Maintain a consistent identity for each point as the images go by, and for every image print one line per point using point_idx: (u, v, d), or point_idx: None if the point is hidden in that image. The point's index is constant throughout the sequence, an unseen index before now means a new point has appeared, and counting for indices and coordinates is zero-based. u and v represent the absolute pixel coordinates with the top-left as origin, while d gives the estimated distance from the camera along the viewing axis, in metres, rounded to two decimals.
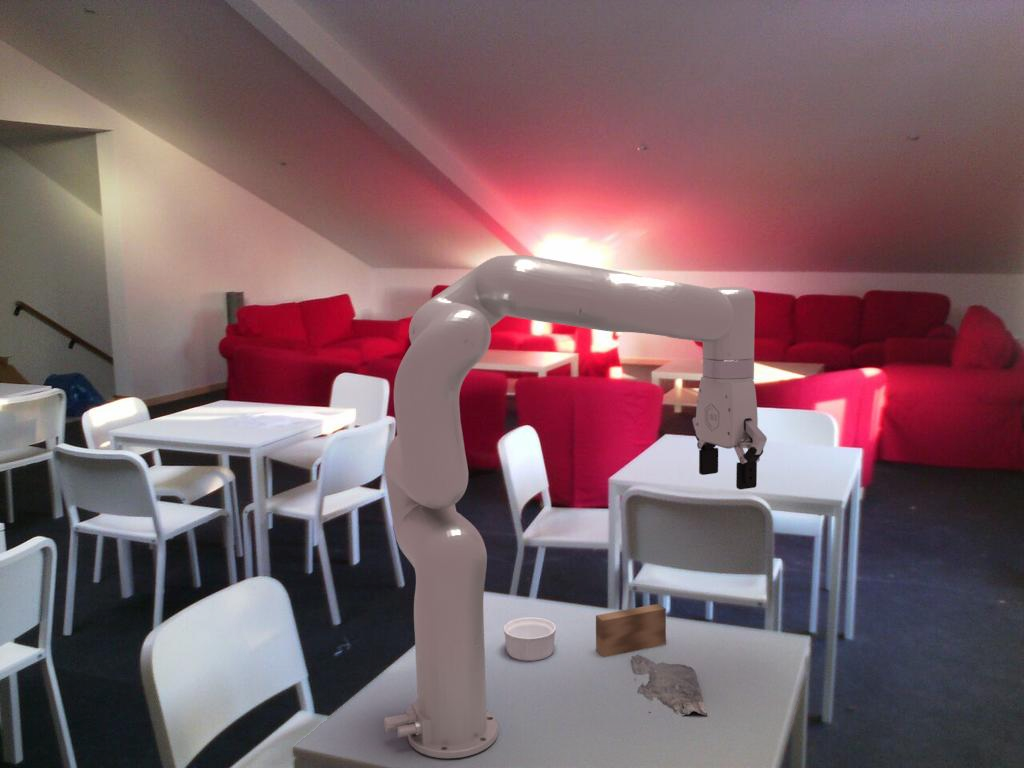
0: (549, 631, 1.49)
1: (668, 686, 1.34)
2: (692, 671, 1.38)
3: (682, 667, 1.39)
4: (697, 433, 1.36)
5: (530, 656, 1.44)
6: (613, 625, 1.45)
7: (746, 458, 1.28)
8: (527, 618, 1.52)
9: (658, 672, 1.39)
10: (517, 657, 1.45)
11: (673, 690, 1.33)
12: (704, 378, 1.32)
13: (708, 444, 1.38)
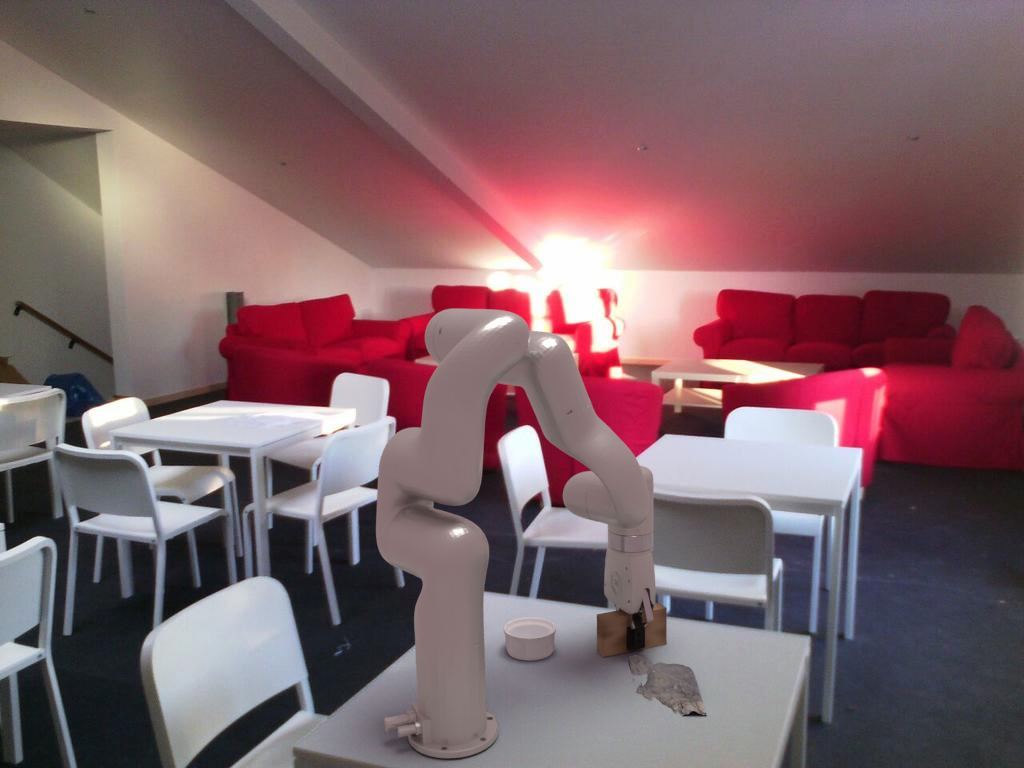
0: (549, 631, 1.49)
1: (666, 686, 1.34)
2: (690, 670, 1.38)
3: (680, 667, 1.40)
4: (605, 593, 1.50)
5: (530, 656, 1.44)
6: (614, 624, 1.45)
7: (634, 625, 1.45)
8: (527, 618, 1.52)
9: (656, 672, 1.39)
10: (517, 657, 1.45)
11: (672, 690, 1.33)
12: (608, 548, 1.45)
13: None
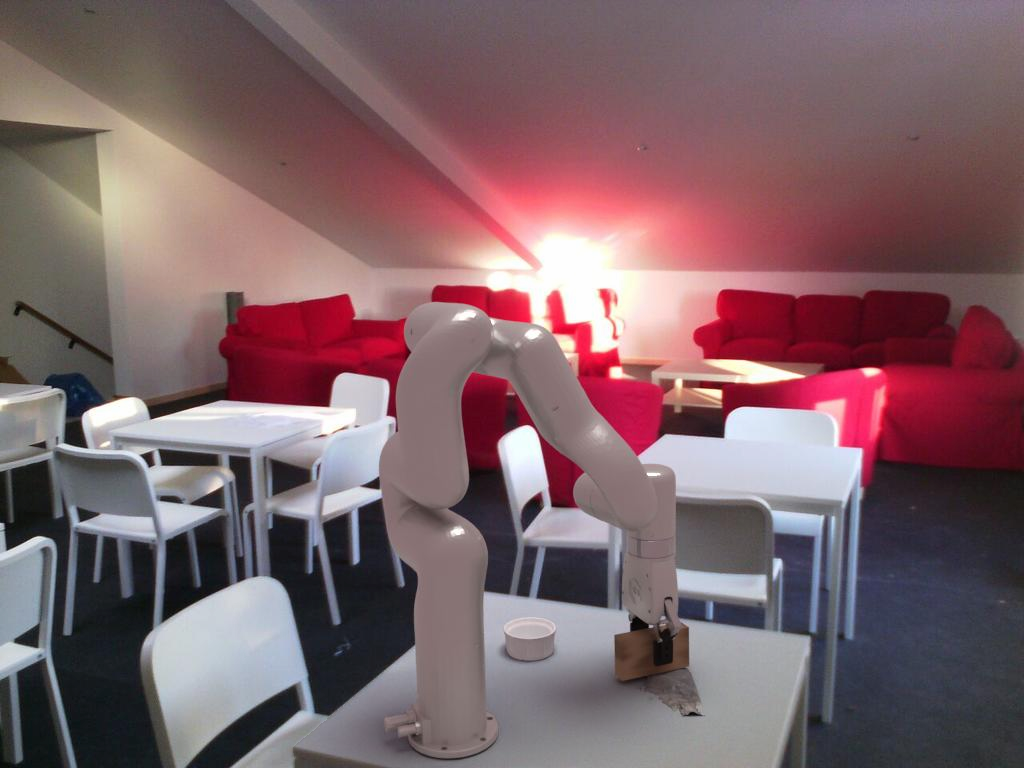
0: (549, 631, 1.49)
1: (664, 687, 1.34)
2: (687, 671, 1.38)
3: None
4: (623, 601, 1.40)
5: (531, 656, 1.44)
6: (633, 645, 1.36)
7: (661, 638, 1.33)
8: (526, 618, 1.52)
9: None
10: (517, 657, 1.45)
11: (670, 691, 1.33)
12: (627, 553, 1.35)
13: (639, 617, 1.41)
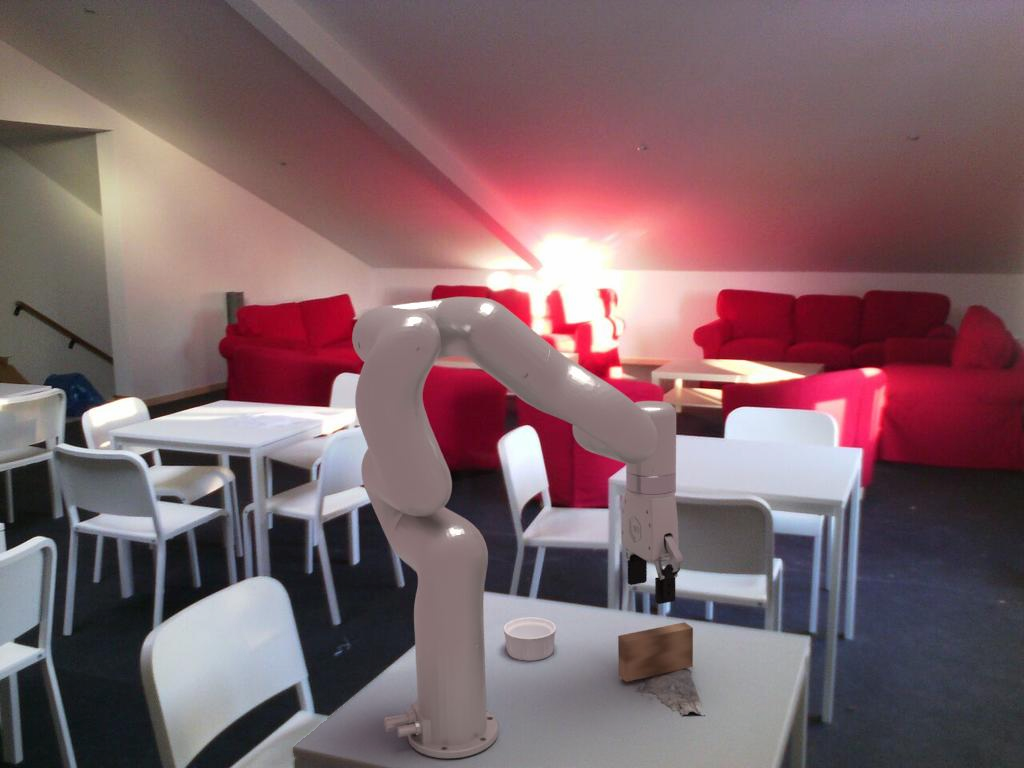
0: (549, 631, 1.49)
1: (663, 686, 1.34)
2: (686, 671, 1.38)
3: None
4: (622, 541, 1.38)
5: (531, 656, 1.44)
6: (637, 646, 1.35)
7: (664, 574, 1.31)
8: (526, 618, 1.52)
9: None
10: (518, 657, 1.45)
11: (669, 690, 1.33)
12: (627, 491, 1.34)
13: (636, 554, 1.40)
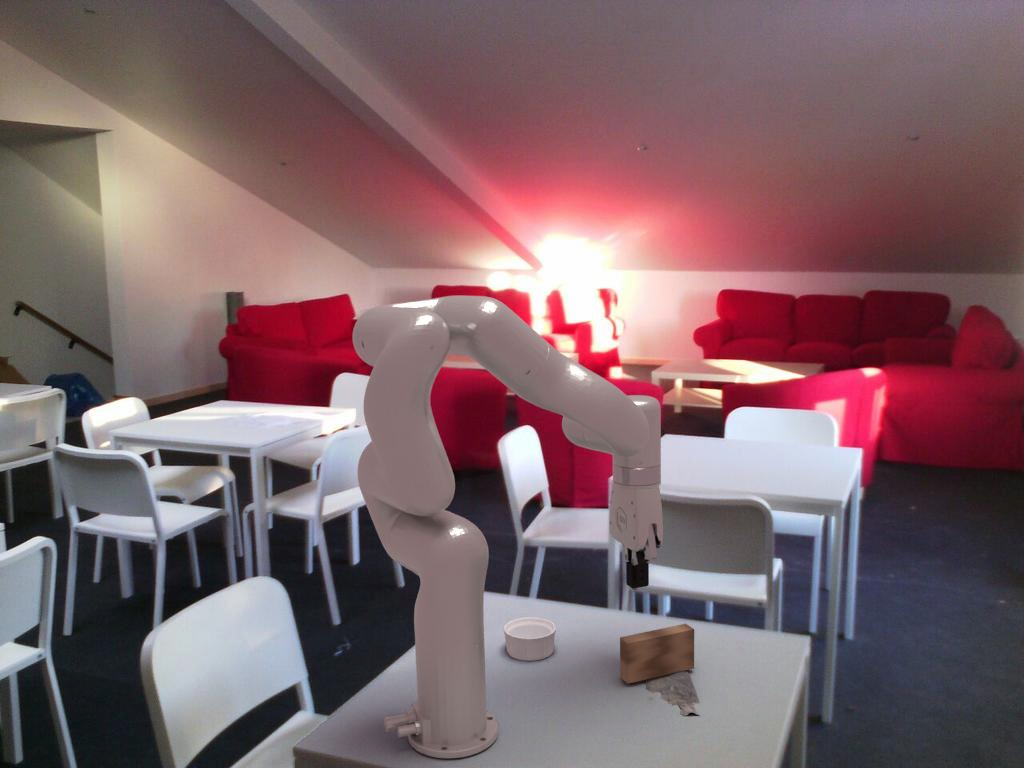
0: (549, 631, 1.49)
1: (663, 687, 1.34)
2: (685, 672, 1.38)
3: None
4: (610, 531, 1.43)
5: (531, 656, 1.44)
6: (639, 648, 1.35)
7: (637, 561, 1.38)
8: (526, 618, 1.52)
9: None
10: (518, 657, 1.45)
11: (668, 691, 1.33)
12: (613, 482, 1.38)
13: None
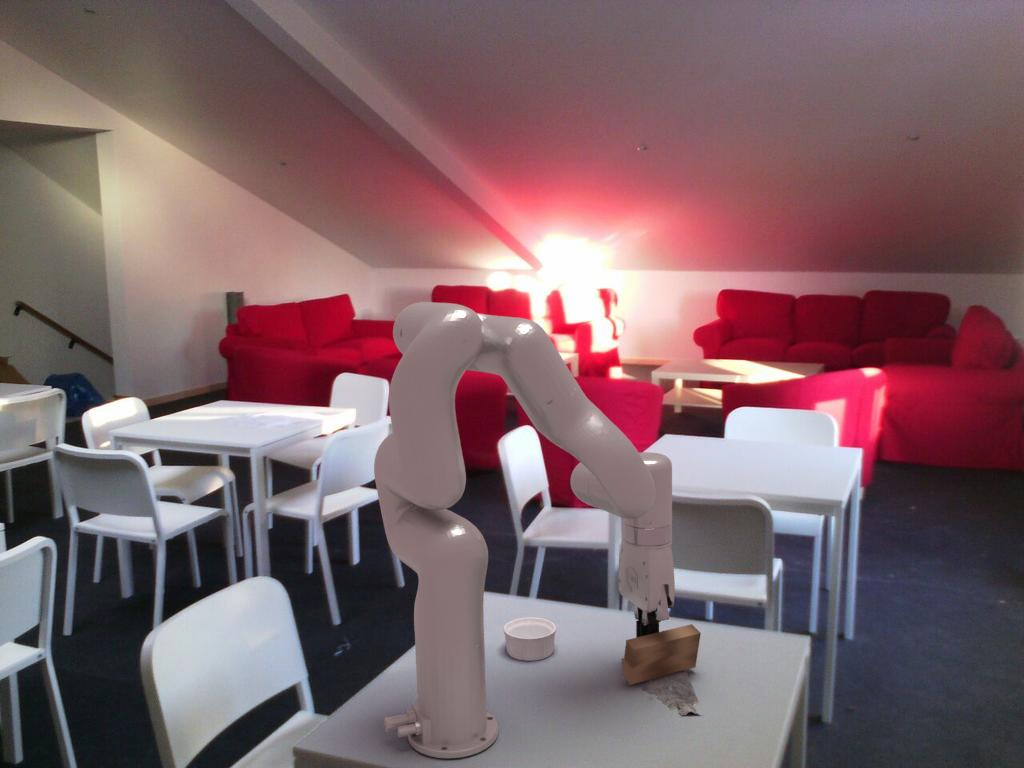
0: (549, 631, 1.49)
1: (661, 687, 1.34)
2: (683, 671, 1.39)
3: None
4: (620, 589, 1.40)
5: (531, 656, 1.44)
6: (645, 653, 1.33)
7: (648, 620, 1.36)
8: (526, 618, 1.52)
9: None
10: (518, 657, 1.45)
11: (667, 691, 1.33)
12: (624, 541, 1.36)
13: None
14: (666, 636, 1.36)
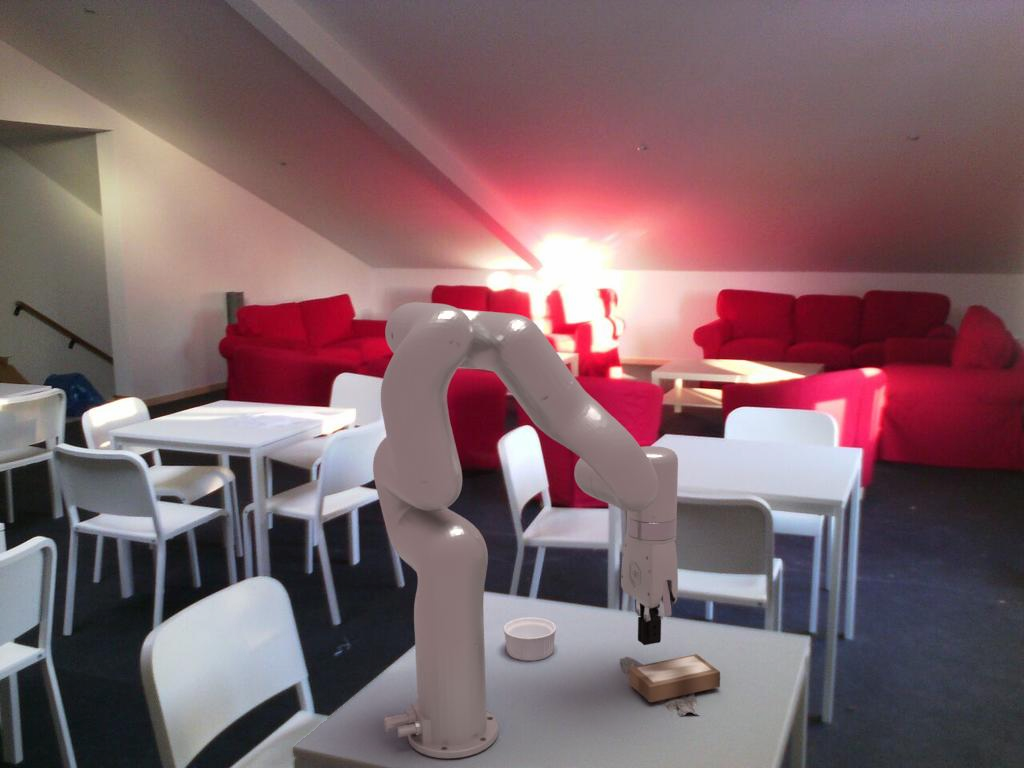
0: (549, 631, 1.49)
1: None
2: None
3: None
4: (622, 585, 1.39)
5: (531, 656, 1.44)
6: None
7: (650, 617, 1.35)
8: (526, 618, 1.52)
9: None
10: (518, 657, 1.45)
11: None
12: (627, 536, 1.34)
13: None
14: (687, 687, 1.31)
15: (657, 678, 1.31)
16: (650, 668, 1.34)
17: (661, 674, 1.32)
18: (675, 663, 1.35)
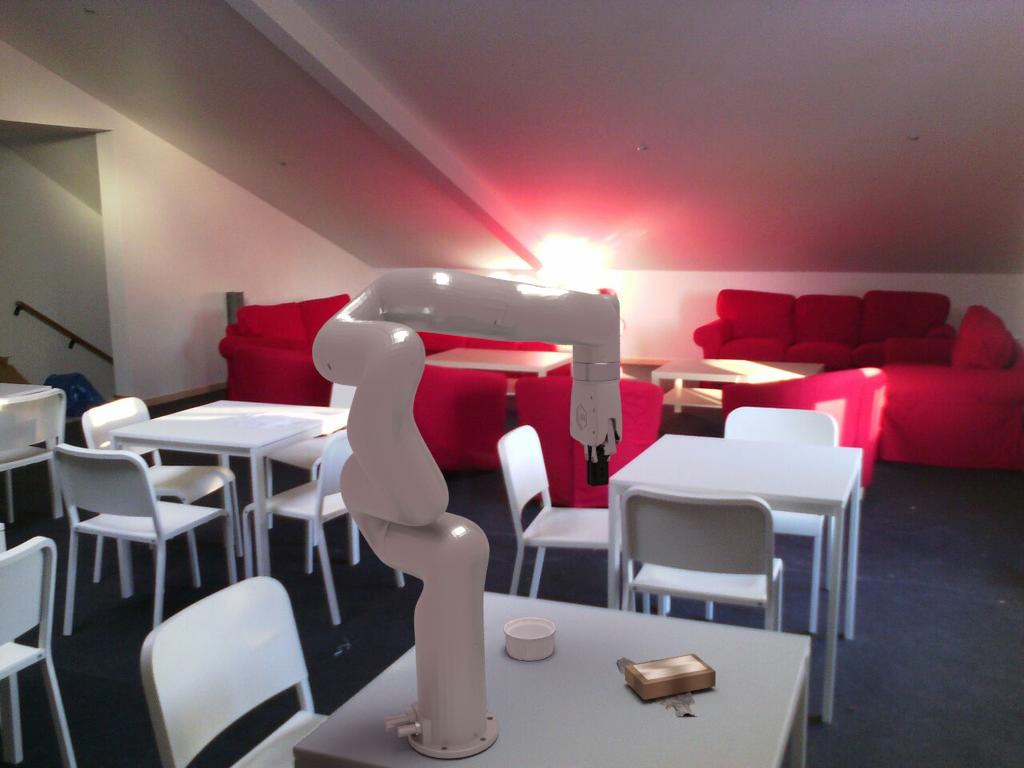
0: (549, 631, 1.49)
1: None
2: None
3: None
4: (571, 432, 1.44)
5: (531, 656, 1.44)
6: None
7: (597, 458, 1.40)
8: (526, 618, 1.52)
9: None
10: (518, 657, 1.45)
11: None
12: (573, 380, 1.39)
13: None
14: (682, 685, 1.31)
15: (652, 676, 1.31)
16: (646, 666, 1.35)
17: (656, 672, 1.33)
18: (671, 662, 1.36)
